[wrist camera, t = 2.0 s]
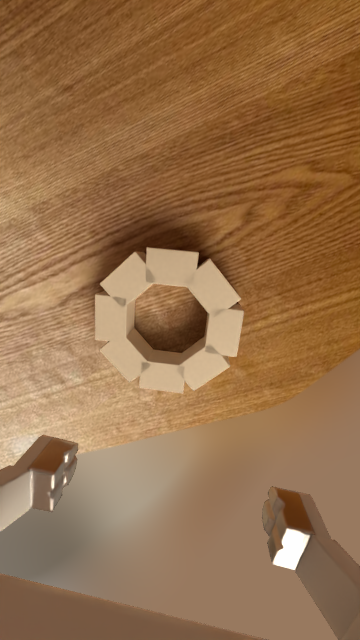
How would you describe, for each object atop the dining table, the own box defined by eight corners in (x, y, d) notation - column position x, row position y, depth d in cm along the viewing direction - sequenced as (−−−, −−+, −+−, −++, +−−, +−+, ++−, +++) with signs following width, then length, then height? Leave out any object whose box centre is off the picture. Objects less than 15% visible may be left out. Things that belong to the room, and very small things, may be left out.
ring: (247, 256, 23) (253, 257, 20) (226, 384, 26) (229, 400, 24) (107, 243, 24) (94, 242, 21) (106, 368, 27) (94, 382, 24)
